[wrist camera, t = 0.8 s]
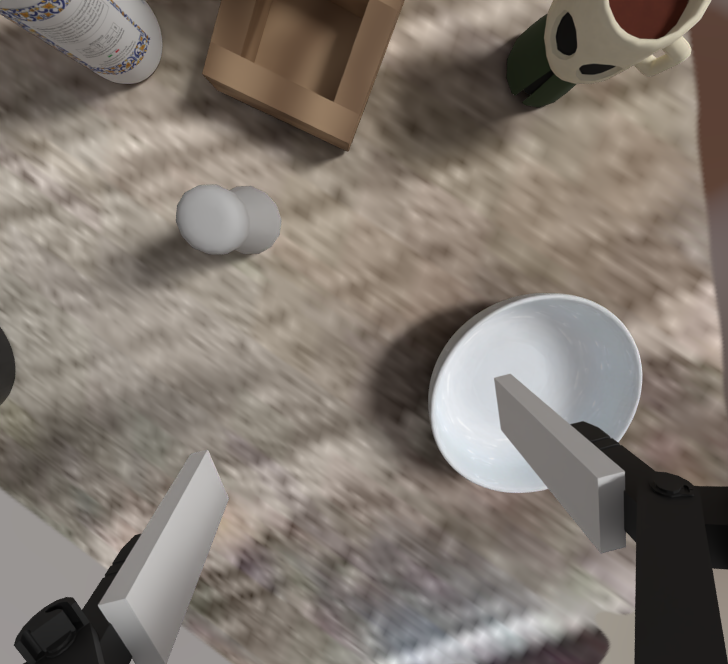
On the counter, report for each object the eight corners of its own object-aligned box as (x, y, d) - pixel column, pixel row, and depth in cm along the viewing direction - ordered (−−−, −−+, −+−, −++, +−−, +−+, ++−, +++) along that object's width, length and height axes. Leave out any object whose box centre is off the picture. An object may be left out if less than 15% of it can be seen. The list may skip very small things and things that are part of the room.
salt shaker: (214, 236, 34) (144, 243, 22) (234, 177, 33) (171, 150, 21) (272, 261, 35) (237, 282, 23) (294, 205, 34) (269, 195, 22)
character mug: (466, 64, 32) (548, -37, 19) (519, -15, 30) (644, -181, 18) (553, 144, 34) (676, 99, 22) (606, 73, 33) (770, -18, 20)
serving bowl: (606, 421, 44) (653, 456, 37) (441, 474, 44) (459, 518, 38) (583, 255, 38) (635, 262, 31) (392, 319, 38) (403, 339, 32)
